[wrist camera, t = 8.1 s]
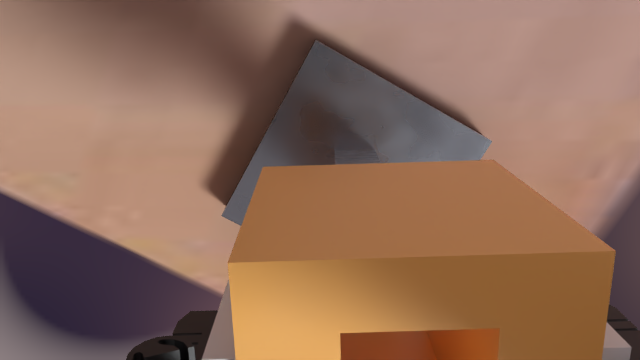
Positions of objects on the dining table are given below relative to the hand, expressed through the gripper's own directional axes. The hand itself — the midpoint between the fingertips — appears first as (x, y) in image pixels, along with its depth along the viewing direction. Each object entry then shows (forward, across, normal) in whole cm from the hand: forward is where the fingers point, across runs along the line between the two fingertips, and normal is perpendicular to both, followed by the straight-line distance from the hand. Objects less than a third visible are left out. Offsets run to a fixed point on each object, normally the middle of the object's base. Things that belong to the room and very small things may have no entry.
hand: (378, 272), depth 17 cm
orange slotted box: (0, 0, 0) cm, 0 cm away
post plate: (+12, 0, 0) cm, 12 cm away
